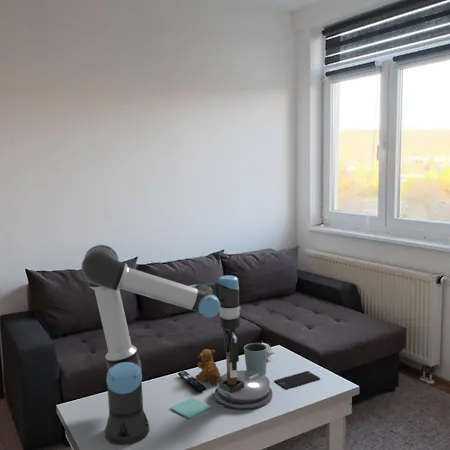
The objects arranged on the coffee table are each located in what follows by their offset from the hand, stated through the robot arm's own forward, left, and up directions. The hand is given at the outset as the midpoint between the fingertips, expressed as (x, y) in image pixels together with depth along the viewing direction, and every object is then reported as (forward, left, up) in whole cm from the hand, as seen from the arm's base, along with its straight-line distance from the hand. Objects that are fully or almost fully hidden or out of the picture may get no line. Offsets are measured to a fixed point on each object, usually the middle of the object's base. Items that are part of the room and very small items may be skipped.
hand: (232, 374), depth 194 cm
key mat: (-15, +8, -11) cm, 20 cm away
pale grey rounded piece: (+39, +17, -11) cm, 44 cm away
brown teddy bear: (+7, +20, -11) cm, 24 cm away
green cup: (+25, +10, -11) cm, 29 cm away
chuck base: (+6, 0, -11) cm, 13 cm away
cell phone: (+31, -8, -12) cm, 34 cm away
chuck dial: (+6, 0, -9) cm, 11 cm away
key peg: (0, 0, -5) cm, 5 cm away
